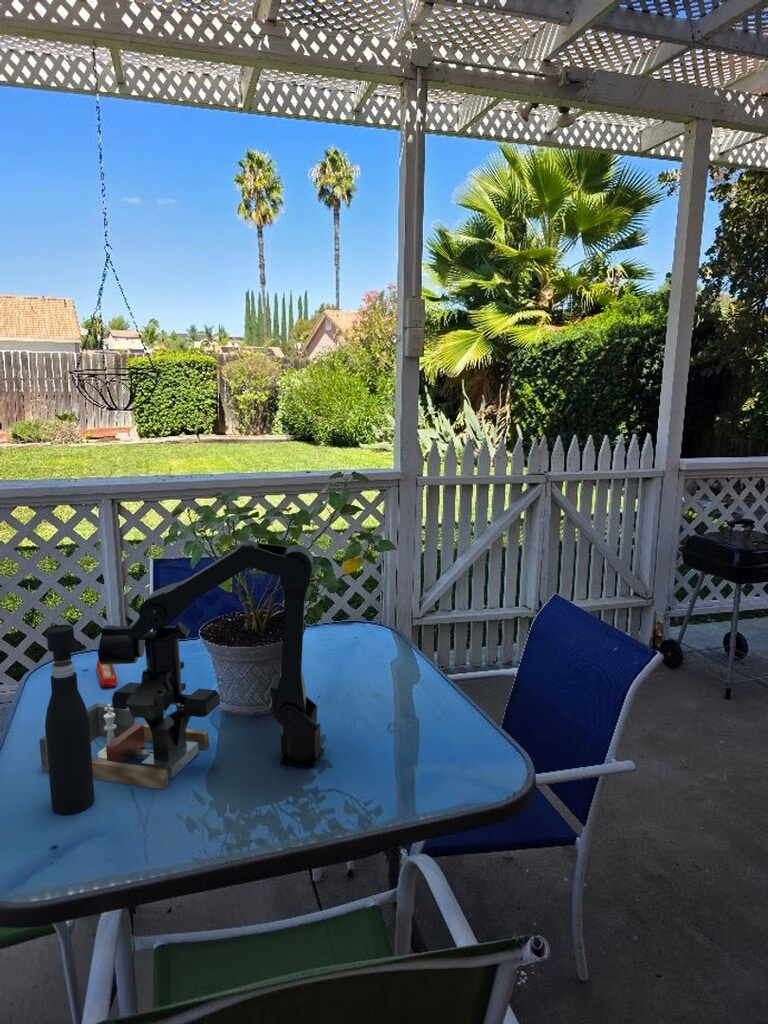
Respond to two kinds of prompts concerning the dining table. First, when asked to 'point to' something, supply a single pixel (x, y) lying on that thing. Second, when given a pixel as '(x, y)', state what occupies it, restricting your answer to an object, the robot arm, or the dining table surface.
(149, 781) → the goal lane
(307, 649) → the dining table surface
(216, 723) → the dining table surface
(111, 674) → the candy bar
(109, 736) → the chess piece
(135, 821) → the dining table surface
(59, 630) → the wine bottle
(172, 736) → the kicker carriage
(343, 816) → the dining table surface
